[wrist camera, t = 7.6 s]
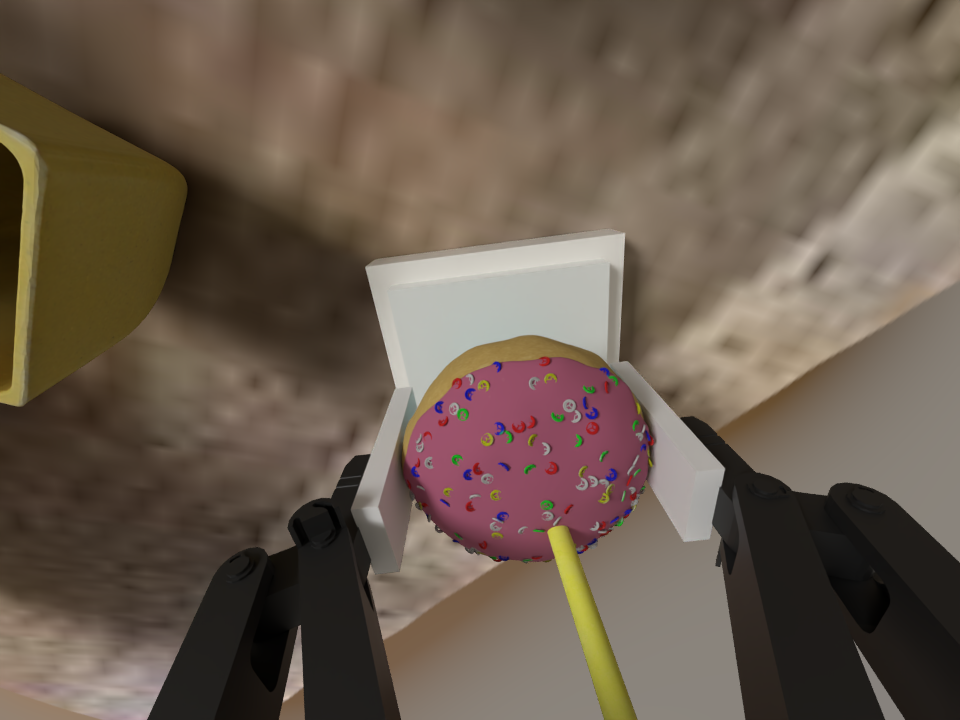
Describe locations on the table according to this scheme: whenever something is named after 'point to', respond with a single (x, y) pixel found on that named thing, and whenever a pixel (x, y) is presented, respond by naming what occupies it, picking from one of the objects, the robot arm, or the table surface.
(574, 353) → the cupcake
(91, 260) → the flower pot
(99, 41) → the table surface
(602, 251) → the pedestal
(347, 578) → the robot arm
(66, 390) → the table surface
